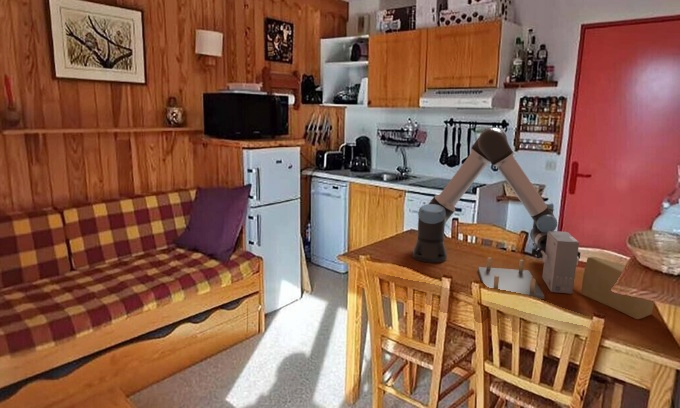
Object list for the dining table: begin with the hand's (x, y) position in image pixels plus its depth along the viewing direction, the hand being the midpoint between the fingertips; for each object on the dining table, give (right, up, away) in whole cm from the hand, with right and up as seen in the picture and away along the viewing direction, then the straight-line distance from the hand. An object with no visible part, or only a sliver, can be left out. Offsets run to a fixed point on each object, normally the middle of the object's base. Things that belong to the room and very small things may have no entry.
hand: (561, 260), depth 170 cm
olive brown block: (+12, -14, -12) cm, 22 cm away
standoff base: (-18, -10, +6) cm, 21 cm away
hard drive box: (0, -11, +4) cm, 11 cm away
